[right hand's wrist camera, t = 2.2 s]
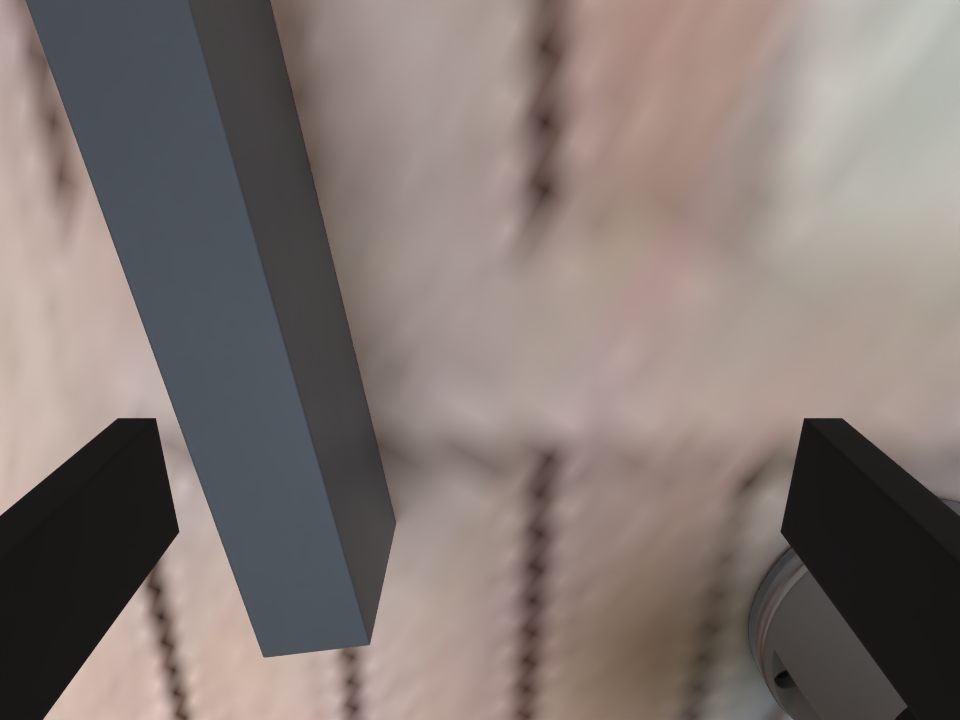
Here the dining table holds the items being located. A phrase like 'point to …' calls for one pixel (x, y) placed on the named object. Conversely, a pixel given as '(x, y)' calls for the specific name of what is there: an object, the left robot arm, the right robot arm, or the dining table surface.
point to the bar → (234, 296)
